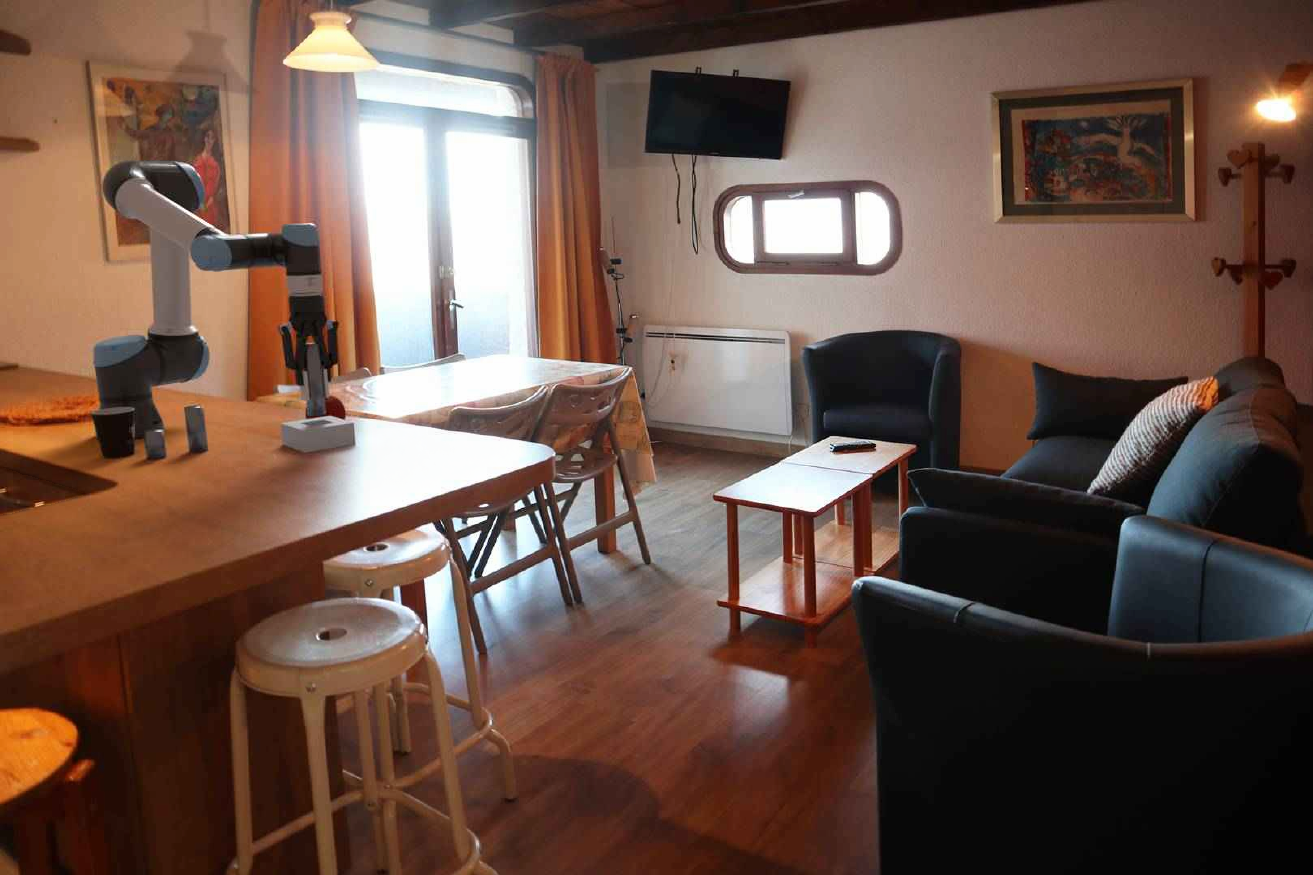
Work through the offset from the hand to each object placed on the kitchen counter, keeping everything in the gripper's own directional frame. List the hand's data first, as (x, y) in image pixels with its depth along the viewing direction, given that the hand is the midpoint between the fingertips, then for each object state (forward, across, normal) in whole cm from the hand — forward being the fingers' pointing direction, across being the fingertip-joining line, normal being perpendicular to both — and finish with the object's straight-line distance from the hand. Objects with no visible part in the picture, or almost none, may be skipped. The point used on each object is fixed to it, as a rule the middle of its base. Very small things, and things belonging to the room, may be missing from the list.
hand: (315, 398), depth 243 cm
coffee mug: (+11, -35, +24) cm, 44 cm away
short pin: (+11, -31, +14) cm, 36 cm away
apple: (+11, +8, +13) cm, 19 cm away
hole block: (+11, 0, 0) cm, 11 cm away
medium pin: (+11, -22, +14) cm, 28 cm away
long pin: (+4, 0, 0) cm, 4 cm away
